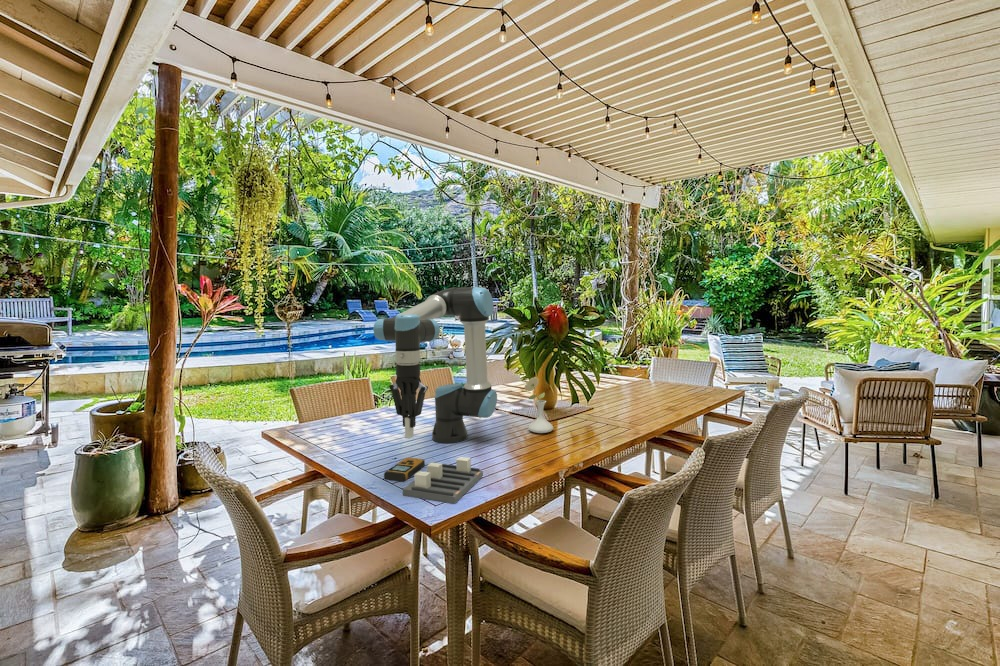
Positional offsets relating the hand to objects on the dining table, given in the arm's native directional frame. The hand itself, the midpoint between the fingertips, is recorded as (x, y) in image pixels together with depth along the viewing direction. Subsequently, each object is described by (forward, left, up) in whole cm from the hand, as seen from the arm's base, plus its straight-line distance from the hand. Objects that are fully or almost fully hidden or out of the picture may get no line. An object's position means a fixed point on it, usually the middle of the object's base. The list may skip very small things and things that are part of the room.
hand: (409, 437), depth 153 cm
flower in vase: (-73, +22, -17) cm, 78 cm away
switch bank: (-6, +9, -17) cm, 20 cm away
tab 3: (-14, +12, -15) cm, 24 cm away
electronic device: (-12, -9, -18) cm, 24 cm away
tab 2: (-6, +5, -15) cm, 17 cm away
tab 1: (+2, +6, -15) cm, 16 cm away
